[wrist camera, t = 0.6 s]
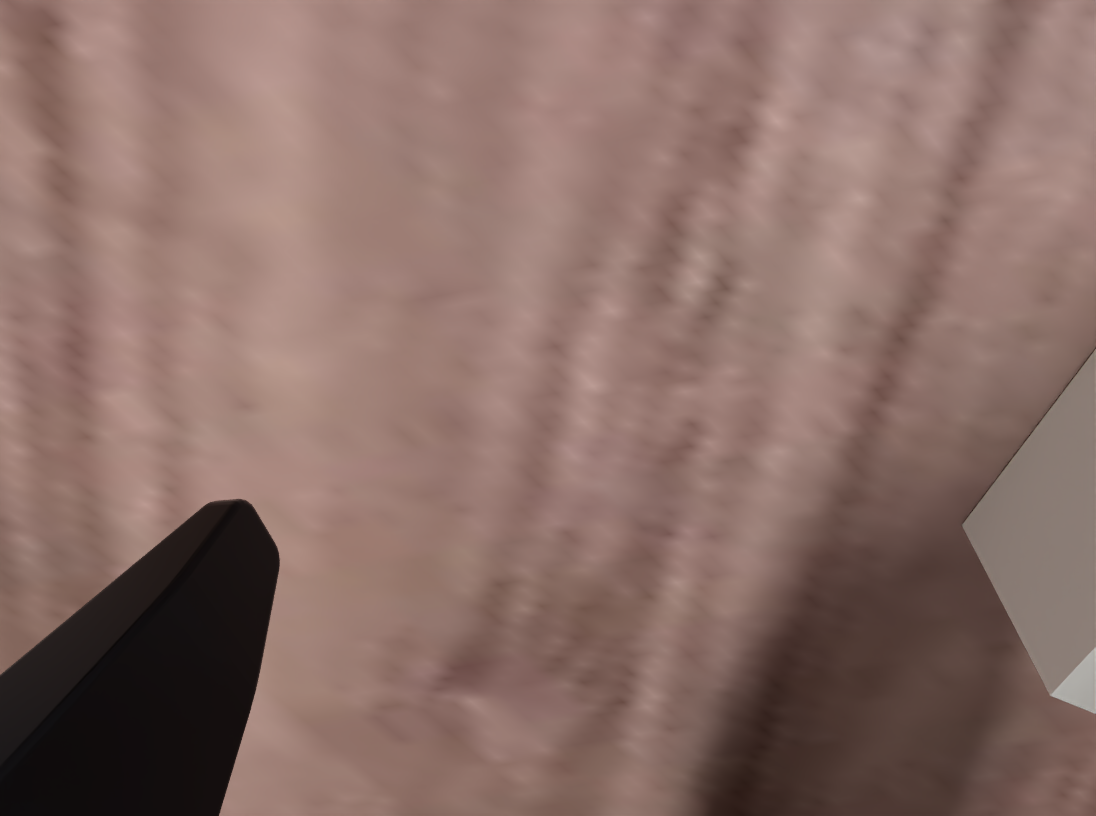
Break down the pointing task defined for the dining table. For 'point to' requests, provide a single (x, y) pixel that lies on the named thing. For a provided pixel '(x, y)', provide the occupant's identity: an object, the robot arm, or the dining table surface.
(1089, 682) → the outer sleeve
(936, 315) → the dining table surface
